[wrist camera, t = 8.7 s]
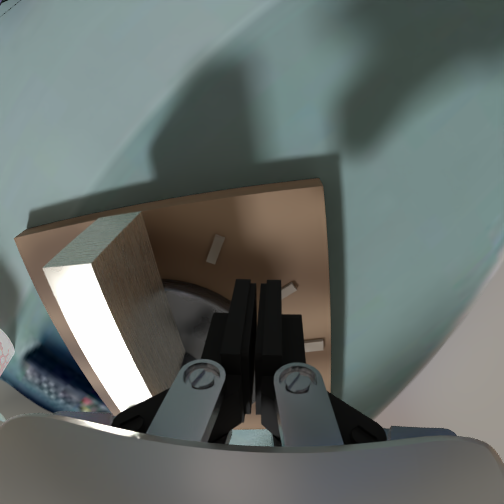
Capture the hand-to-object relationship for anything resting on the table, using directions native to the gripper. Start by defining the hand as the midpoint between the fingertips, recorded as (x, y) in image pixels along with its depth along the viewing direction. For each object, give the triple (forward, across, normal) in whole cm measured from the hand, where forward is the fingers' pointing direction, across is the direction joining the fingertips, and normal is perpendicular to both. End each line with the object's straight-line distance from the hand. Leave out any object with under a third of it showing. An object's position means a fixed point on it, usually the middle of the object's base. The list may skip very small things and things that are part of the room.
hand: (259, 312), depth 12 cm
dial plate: (+7, +6, +8) cm, 12 cm away
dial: (+5, +6, +6) cm, 10 cm away
